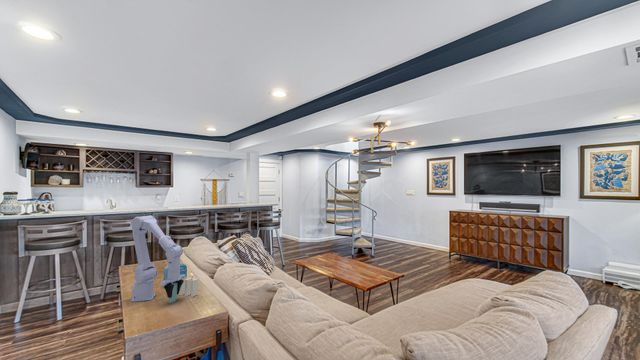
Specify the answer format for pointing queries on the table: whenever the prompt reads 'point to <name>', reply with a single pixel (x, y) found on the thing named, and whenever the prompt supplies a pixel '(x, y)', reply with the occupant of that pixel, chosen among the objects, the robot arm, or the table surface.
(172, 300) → the teal domino
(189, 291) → the domino
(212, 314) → the table surface
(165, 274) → the data package
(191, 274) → the table surface
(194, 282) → the domino
